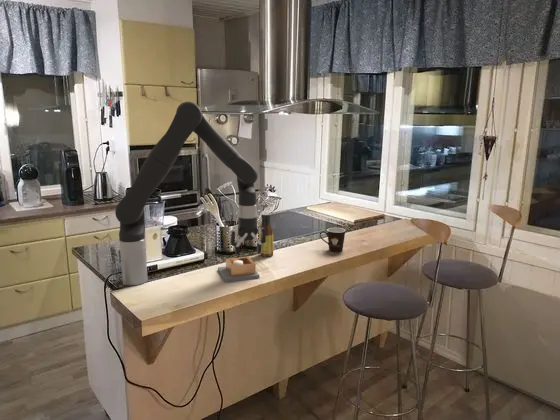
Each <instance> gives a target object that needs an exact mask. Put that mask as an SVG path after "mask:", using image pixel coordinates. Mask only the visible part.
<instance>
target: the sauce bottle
mask: <svg viewBox="0 0 560 420" xmlns="http://www.w3.org/2000/svg"><path fill="white" fill-rule="evenodd" d="M260 215H261V225H260V228H259V229H261V228H264V229H265V237H266V242H265V243H262V244H261V252H260V253H259V254H260V255H261V256H262V257H265V258H269V257H272V256H273V255H274V252H275V251H274V228H273V226H272V224H271V213H269V212H263V213H261V214H260ZM259 240H261V234H260V233H259Z"/></svg>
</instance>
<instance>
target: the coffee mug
mask: <svg viewBox="0 0 560 420" xmlns="http://www.w3.org/2000/svg"><path fill="white" fill-rule="evenodd" d="M346 232H347V231H346V229H345V228H342V227H341V228H340V227H329V228H327V232H326V231H324V230H323V231H320V233H319V237H320V239H321V240H322V241H323V242H325V244H327V245H328V251H329V252H331V253H342V252H343V250H344V249H343V248H344V243H345V236H346ZM322 234H326V236H327V240H325V239H323V237H322Z"/></svg>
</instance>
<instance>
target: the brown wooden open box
mask: <svg viewBox="0 0 560 420" xmlns="http://www.w3.org/2000/svg"><path fill="white" fill-rule="evenodd" d="M236 260H241V261H243V265H235V266H233V261H236ZM225 267H226V269H227V270H228V272H229V274H230V275H231V277H232V276H241V275H249V274H256V271H257V270H256V269H257V268H256V263H255V262H254V261H253V259H252V258H251V257H250V256H243V257H242V256H241V257H234V258H226V259H225Z"/></svg>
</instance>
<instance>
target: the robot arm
mask: <svg viewBox="0 0 560 420" xmlns="http://www.w3.org/2000/svg"><path fill="white" fill-rule="evenodd" d="M192 133H194V134H196V135H197V136H198V137H199V138H200V139H201V140H202V141H203V143H205V145H206V146H207V147H208V148H209V149H210V150H211V152H212V153H213V154H214V155H215V156H216V157H217V159H219V161H221V163H223V164H224V166H226V168H228V169H229V170H231V171H232V173H234V174H235V176H236V181H237V189H238V209H237V217H238V219H237V220H238V221H237V222H238V229H237V230H234V229H231V230H230V237H229V239H230V242H229V244H230V245H231V246H232V247H234V252H235V253H234V254H236V255H237V257H238V256H239V257H240V245H241V244H242V243H243V242H244V241H245V242H247V241H253V240H255V242H256V254H260V252H261V244H262V243H265V242H266V237H265V229H264V228H261V227H260V228H261V229H260V228H259V227H258V208H257V193H256V192H257V191H256V190H255V183H256V182H257V180H258V177H259V176H258V175H259V174H258V171H257V170H256V169H255V168H254V166H252V165H251V164H250V163H249V162H248V161H247V160H246V159H245V158H244V157H243V156H242V155H241V154H240V152H239V151H238V150H237V149H236V148H235V147H234V146H233V145H232V144H231V143H230V142H229V141H228V140H227V139H226V138H224V136H222V134H220V133H219V132H218V131H217V130H216V129H215V128H214V126H212V124H210V122H209V121H208V120H207V119H206V117H205V115H204V114H203V112H202V110H201V108H200V107H199V105H198V104H196V103H194V102H192V101H183V102H182V103H180V104H179V105H178V106H177V108H176V111H175V115H174V117H173V119H172V122H171V123H170V125H169V126H168V129H167V131H166V132H165V133H164V135H163V136H162V137H161V138H160V139H159V140H158V142H156V144H155V145H154V147H153V148H152V149H151V151H150V152H149V154H148V155H147V156H146V158H145V160H144V162H143V164H142V165H141V167H140V170H139V171H138V174H137V175H136V177H135V180H134V182H133V184H132V185H131V187H130V189H128V191H127V193H126V194H125V195H124V196H123V198H122V199H121V200H120V201H119V202H118V203H117V205H116V207H115V211H114V213H115V217H116V220H118V222H119V231H118V232H119V233H118V239H119V250H120V251H119V253H120V267H121V279H122V285H123V286H131V287H132V286H139V285H143V284H145V283H147V282H148V280H149V279H148V277H149V276H148V266H147V253H146V238H145V237H146V235H145V234H146V233H145V231H146V221H145V215H146V214H145V206H146V204H147V203H148V200H149V199H150V197H151V195H152V194H153V193H154V192H155V191H156V190H157V188H158V187H159V186H160V185H161V184H162V182H163V180H165V179H166V177H167V175H168V174H169V172H170V171H171V169H172V168H173V166H174V164H175V162H176V161H177V159H178V157H179V155H180V152H181V150H182V148H183V147H184V144H186V141H187V139H188V138H190V136H191V135H192ZM258 233H259V235H260V234H261V240H260V238H258V237H257V235H258ZM237 234H238V237H237ZM236 237H237V239H236Z"/></svg>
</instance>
